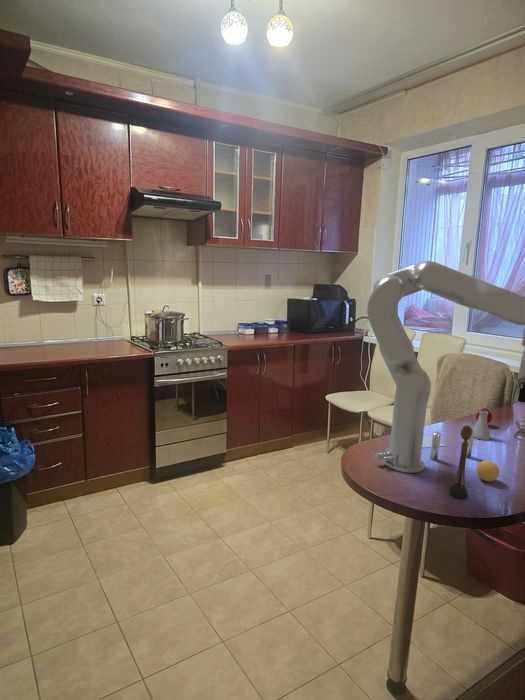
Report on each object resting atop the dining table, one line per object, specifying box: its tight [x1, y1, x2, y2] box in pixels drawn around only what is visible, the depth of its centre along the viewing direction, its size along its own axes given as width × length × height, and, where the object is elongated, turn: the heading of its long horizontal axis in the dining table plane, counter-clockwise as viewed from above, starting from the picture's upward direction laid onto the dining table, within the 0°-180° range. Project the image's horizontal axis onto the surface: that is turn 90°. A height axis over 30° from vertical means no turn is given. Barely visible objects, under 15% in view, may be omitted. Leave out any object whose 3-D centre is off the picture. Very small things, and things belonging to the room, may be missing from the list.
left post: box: [429, 431, 442, 462], centre depth 144 cm, size 2×2×9 cm
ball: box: [476, 459, 500, 482], centre depth 131 cm, size 6×6×6 cm
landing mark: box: [422, 435, 446, 449], centre depth 160 cm, size 10×10×1 cm
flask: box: [472, 410, 492, 441], centre depth 167 cm, size 7×7×10 cm
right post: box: [466, 431, 475, 459], centre depth 148 cm, size 2×2×9 cm
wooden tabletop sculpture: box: [448, 425, 473, 500], centre depth 120 cm, size 6×5×20 cm
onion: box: [475, 406, 493, 425], centre depth 180 cm, size 6×6×8 cm
